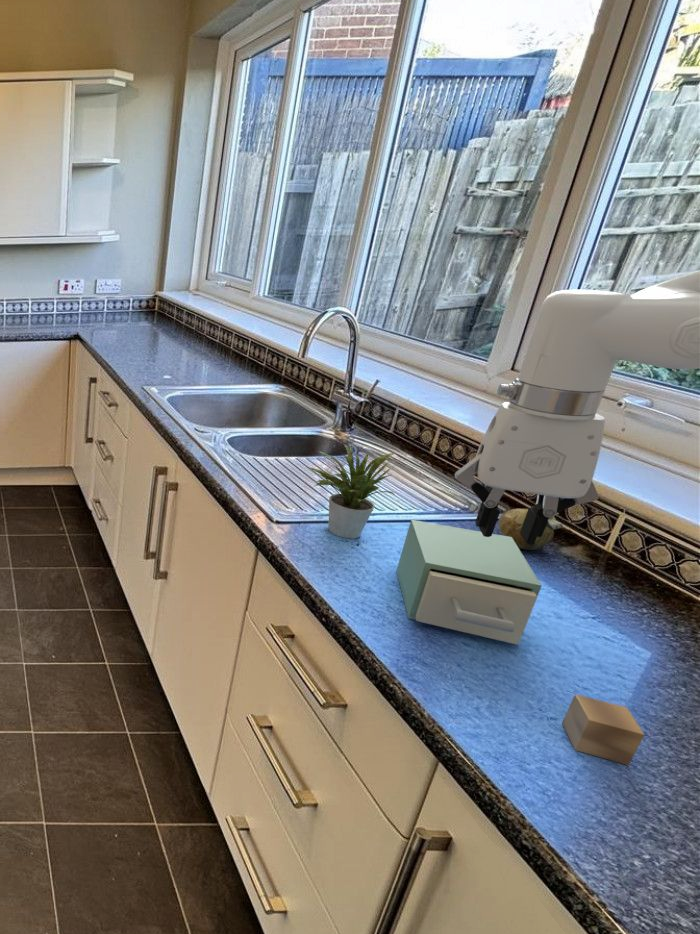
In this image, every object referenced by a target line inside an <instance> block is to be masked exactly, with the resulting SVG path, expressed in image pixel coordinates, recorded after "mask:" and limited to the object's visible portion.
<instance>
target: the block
mask: <svg viewBox="0 0 700 934" xmlns="http://www.w3.org/2000/svg"><path fill="white" fill-rule="evenodd" d="M569 704H570V705H569V707H568V709H567V711H566V713H565V715H564V717H563V720H562V722H561V725H562V726H563V729H564V731H565V733H566V734H567V737H568V739H569V741H570V743H571V745H572V747H573V749H574V750H575V751H577V752H581V753H584V754H586V755H591V756H594V757H598V758H601V759H604V760H608V761H612V762H616V763H619V764H622V765H626V766H630V764H631V762H632V760H633V758H634V756H635V754H636V752H637V751H638V748H639V746H640V744H641V743H642V741H643V739H644V737H645V733H644V732H643V729H642V728H641V727H640V725H639V724H638V722H637V720H636V719H635V717H634V716H633V714H632V713H631V711H630V710H629V708H628V707H627V706H624V705H619V704H615V703H612V702H608V701H604V700H599V699H597V698H592V697H588V696H584V695H580V694H577V693H576V694H574V695H573V698H572V699H571V702H570V703H569Z"/></svg>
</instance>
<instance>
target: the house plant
mask: <svg viewBox="0 0 700 934" xmlns="http://www.w3.org/2000/svg"><path fill="white" fill-rule="evenodd" d="M344 448H345V450H346V453H347V455H346V454H345V453H342V455H343V456H344V458H345V460H346V463H347V465H348V469H349V474H348V473H347V471H346V470H345V469H346V468H344V466H343V465H342V463H340V461H339V460H338V459H337V458H335V457H334V456H333V455H330V454H328V453H326V452H323V451H319V450H315V449H314V450H315V452H318V453H320V454H323V455H325V456H324V458H325V459H328V460H330V461H332V462H336V464H335V463H332V462H330V461H327V463H328V464H332V465H333V466H334V467H335V469H336V470H337V471H338V473H334V474H331V473H329V472H327V471H324V470H322V469H318V468H314V467H310V466H309V467H308V468H309V469H310V470H312V471H314V474H315V475H318V476H321V477H322V478H323V479H318V480H316V481H314V484H315V483H316V484H315V485H314V487H317V486H331V487H332V488H333V489H334V490H335V492H337V493H335V494H334V493H333V494H332V495H330V496H329V497H328V521H327V523H328V525H327V526H328V527H327V529H328V531H329V532H330V533H331V534H333V535H335V536H337V537H339V538H344V539H351V540H352V539H359V538H360V536H361V534H362V533H363V530H364V528H365V526H366V525H367V523H368V521H369V519H370V516H371V515H372V514H373V513H372V512H373V511H374V509H375V504H374V503H373V502H372V501H371V500H369V499H367V498H368V497H370V496H371V495H374V494H377V493H379V494H380V493H388V494H391V495H393V496H394V497H396V494H395V493H394V492H392V491H389V490H381V491H377V490H378V489H380V487H379V486H377V484H381V483H382V480H385V478H388V477H391V476H392V474H388V472H390V470H392V469H393V468H394V467H395V465H393V466H391V467H390V468H388V469H387V470H386V471H384V472H383V473H382V474H381V475H379V474H380V473H381V472H382V471H383V470H384V469H386V467H387V466H388V465H389V464H390V463H391V460H389V461H387V460H388V459H389V458H390V457H392V456H393V455H395V454H396V452H391V453H387V454H385V455H381V456H378V457H376V458H374V459H373V460H371V461H370V462H369V463H368V464H367V462H368V459H369V453H367V454H365V456H364V458H363V459H362V460H361V462H360V457H359V456H358V454H357V453H354V454H353V452H352V450H351V449H350V448H349V446H347V445H346V444H344ZM354 456H355V461H354ZM386 461H387V462H386ZM354 462H355V463H354ZM385 462H386V463H385ZM383 463H385V464H383ZM337 465H338V466H337ZM381 465H382V466H381ZM380 466H381V467H380ZM339 467H340V468H339ZM379 467H380V468H379ZM377 469H378V470H377ZM386 474H387V475H386ZM378 475H379V476H378ZM377 476H378V477H377ZM376 477H377V478H376Z"/></svg>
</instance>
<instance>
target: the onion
mask: <svg viewBox="0 0 700 934" xmlns="http://www.w3.org/2000/svg"><path fill="white" fill-rule="evenodd" d="M528 509H529V508H511V509H509V510H507V511H506V512H505V513H503V514H501V516H499V517H498V520H497V521H498V522H497V525H498V530H499V533H500V535H503V536H508V537H512V538H513V540H514V542H515V543H516V545H517V546H518V548H519V550H526V551H535V550H538V549H542V548H544V547H546V546H548V545H549V544H550V543H551V542H552V541H553V539H554V535H555V531H554V530H559V529H562V528H563V524H562V523H561V522H559V521H558V520H556V517H555V516H554V517H549V519H548V522H547V525H546V527H545V530H544V532H543V535H542V537H537V538H536V541H535V543H534V545H530V544H527V543H526V542H525V541H524V539H523V538H522V536H521V535H520V531H521V528H522V525H523V522H524V520H525V517H526V514H527V512H528Z"/></svg>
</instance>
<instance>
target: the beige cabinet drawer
mask: <svg viewBox="0 0 700 934" xmlns="http://www.w3.org/2000/svg"><path fill="white" fill-rule="evenodd" d="M537 599H538V596H537V595H536V594H535V592H531V591H526V590H524V587H520V586H515V585H510V584H505V583H500V582H495V581H490V580H485V579H480V578H475V577H470V576H465V575H460V574H455V573H450V572H445V571H440V570H435V569H431V570H430V572H429V575H428V578H427V581H426V584H425V588H424V591H423V594H422V597H421V600H420V603H419V607H418V610H417V613H416V616H415V617H416V620H415V621H416V622H419V623H423V624H427V625H432V626H437V627H441V628H445V629H447V630H448V629H449V630H453V631H456V632H462V633H466V634H470V635H475V636H479V637H483V638H488V639H491V640H495V641H500V642H505V643H508V644H513V645H516V646H517V645H518V646H519V644H520V642H521V639H522V637H523V634H524V632H525V629H526V627H527V624H528V622H529V620H530V617H531V614H532V612H533V610H534V606H535V604H536V601H537Z"/></svg>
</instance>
